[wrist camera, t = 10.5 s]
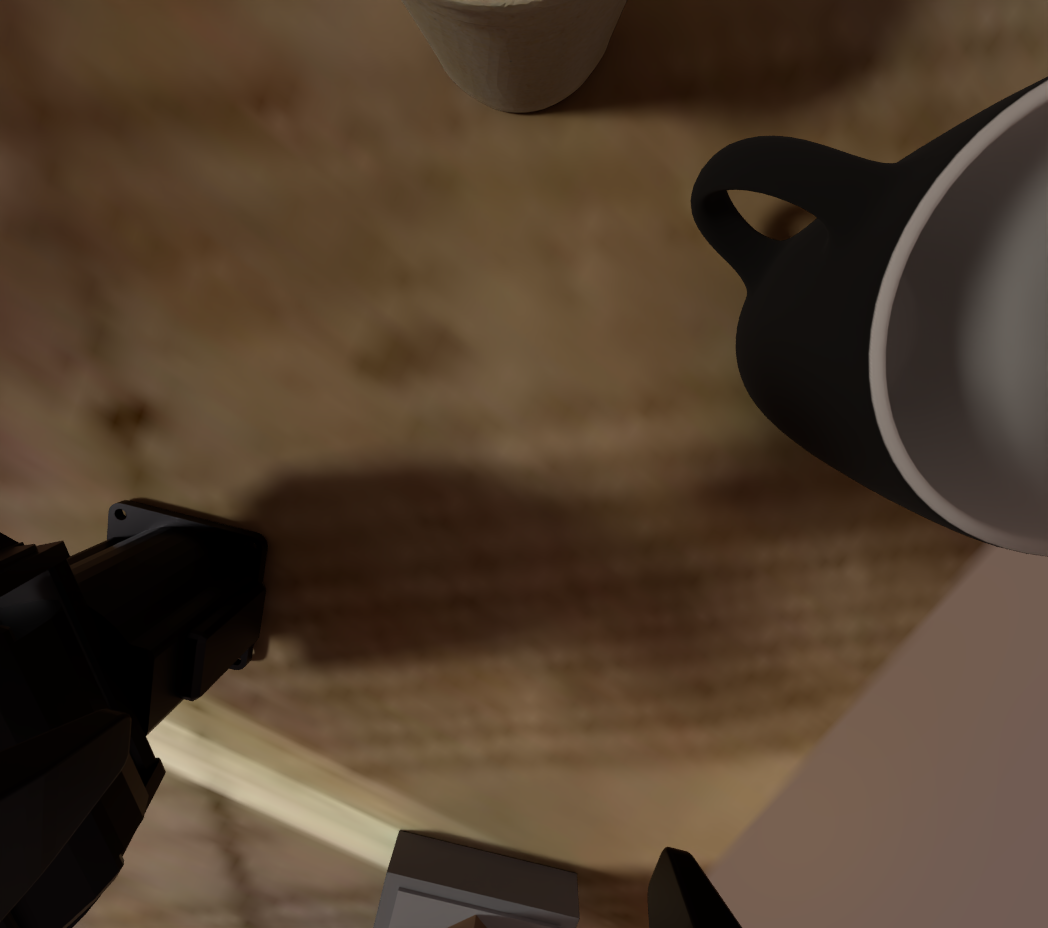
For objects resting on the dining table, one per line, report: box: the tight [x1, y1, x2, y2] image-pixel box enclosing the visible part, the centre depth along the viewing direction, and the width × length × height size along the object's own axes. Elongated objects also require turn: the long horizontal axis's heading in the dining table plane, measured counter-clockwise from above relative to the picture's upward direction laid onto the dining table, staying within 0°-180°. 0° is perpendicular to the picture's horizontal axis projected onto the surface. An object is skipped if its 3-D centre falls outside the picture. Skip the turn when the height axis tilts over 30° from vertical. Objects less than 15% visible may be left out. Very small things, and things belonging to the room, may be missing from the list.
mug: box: [691, 77, 1048, 556], centre depth 14 cm, size 12×9×10 cm
